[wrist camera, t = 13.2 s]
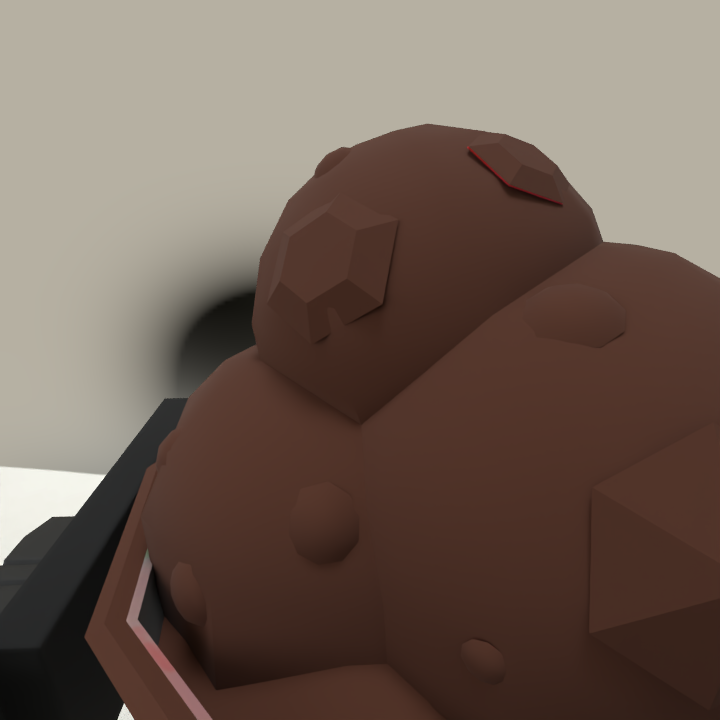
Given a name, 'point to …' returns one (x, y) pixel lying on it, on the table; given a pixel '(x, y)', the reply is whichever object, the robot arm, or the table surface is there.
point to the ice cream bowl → (437, 466)
